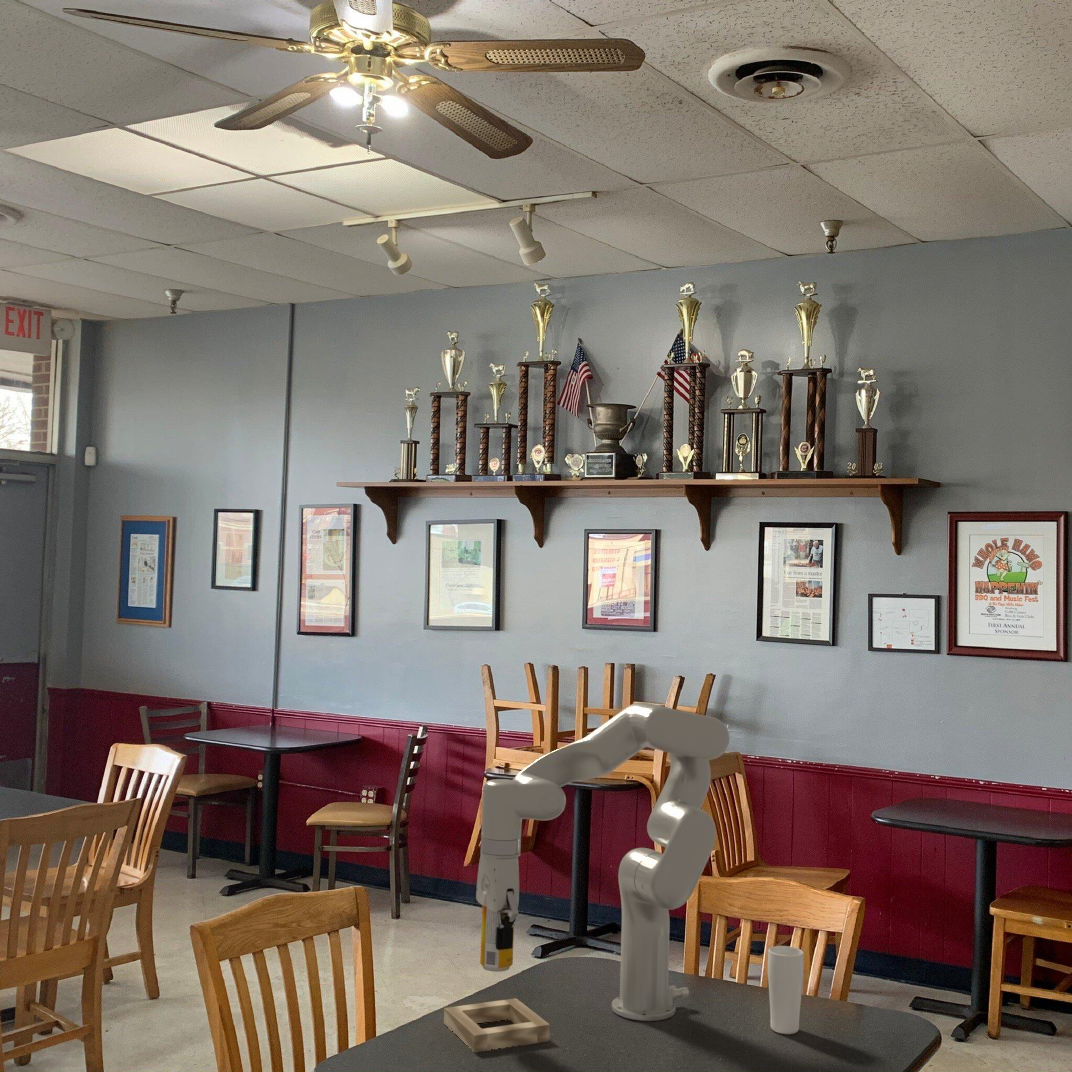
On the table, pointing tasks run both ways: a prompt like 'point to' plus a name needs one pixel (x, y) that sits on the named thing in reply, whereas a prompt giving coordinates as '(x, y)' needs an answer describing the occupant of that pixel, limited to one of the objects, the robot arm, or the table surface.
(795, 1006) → the drinking glass
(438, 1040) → the table surface
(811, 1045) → the table surface
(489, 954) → the beer can
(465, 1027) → the can holder
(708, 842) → the robot arm
